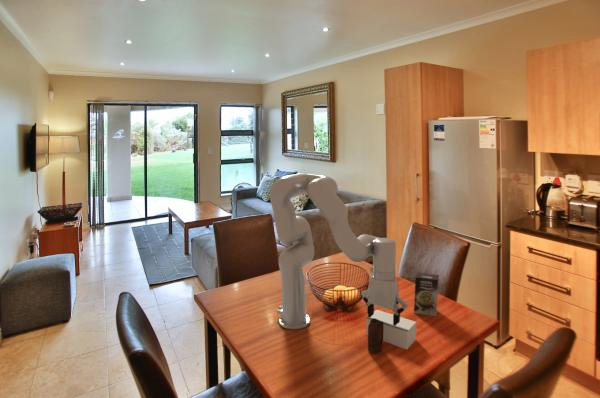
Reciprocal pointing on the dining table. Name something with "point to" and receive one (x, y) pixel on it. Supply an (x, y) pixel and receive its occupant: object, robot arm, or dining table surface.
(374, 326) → the brick
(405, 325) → the step
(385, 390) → the dining table surface
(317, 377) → the dining table surface
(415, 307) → the coffee box
